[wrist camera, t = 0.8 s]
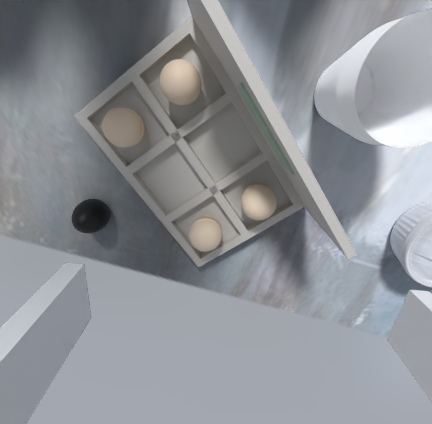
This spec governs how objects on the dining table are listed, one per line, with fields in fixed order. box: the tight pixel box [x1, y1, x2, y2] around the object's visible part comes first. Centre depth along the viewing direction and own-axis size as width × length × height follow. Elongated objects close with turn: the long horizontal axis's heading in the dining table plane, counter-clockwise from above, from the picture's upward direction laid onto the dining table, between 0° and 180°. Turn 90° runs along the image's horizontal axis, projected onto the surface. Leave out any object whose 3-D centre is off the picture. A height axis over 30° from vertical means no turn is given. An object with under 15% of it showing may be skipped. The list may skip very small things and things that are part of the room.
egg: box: [72, 199, 110, 233], centre depth 33 cm, size 4×4×5 cm
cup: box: [314, 8, 432, 148], centre depth 23 cm, size 9×9×12 cm
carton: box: [74, 0, 357, 268], centre depth 26 cm, size 24×17×14 cm
